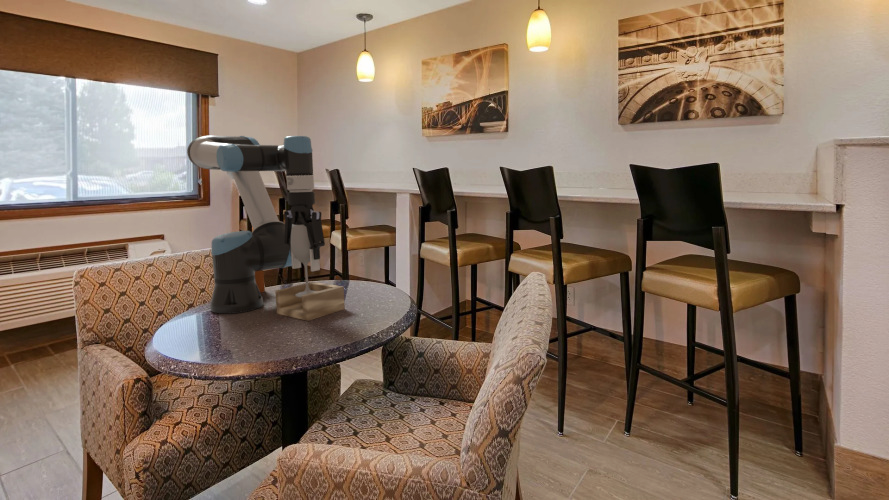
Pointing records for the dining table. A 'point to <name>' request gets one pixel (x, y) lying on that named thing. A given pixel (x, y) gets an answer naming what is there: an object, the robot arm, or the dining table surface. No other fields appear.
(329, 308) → the tan wooden open box
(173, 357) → the dining table surface
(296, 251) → the wineglass
